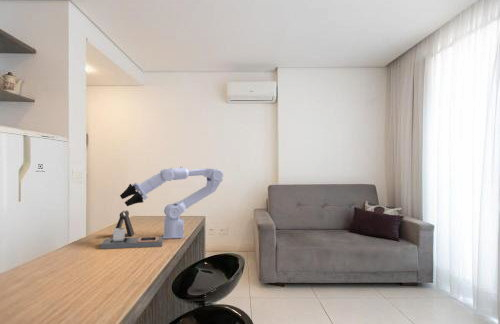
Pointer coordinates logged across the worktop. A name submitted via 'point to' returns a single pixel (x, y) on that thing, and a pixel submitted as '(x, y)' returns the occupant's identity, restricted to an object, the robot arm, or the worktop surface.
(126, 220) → the phone stand
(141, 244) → the rail plate
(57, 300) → the worktop surface
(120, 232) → the block
